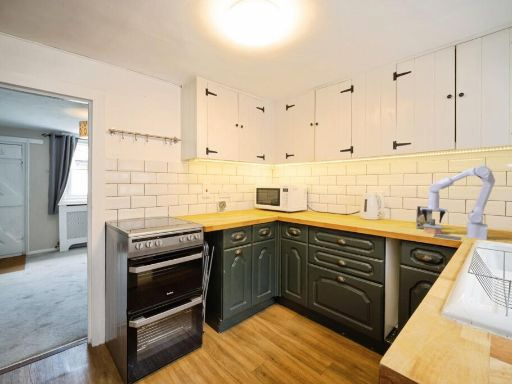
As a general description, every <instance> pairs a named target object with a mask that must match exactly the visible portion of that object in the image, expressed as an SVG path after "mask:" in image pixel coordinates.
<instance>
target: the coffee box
mask: <svg viewBox="0 0 512 384" xmlns="http://www.w3.org/2000/svg"><path fill="white" fill-rule="evenodd" d="M420 207H421V206H417V207H416V220H415V229H418V230H424V226H423V225H424V224H431V219H433V211H427V222H426V221H425V218H424V215H423V213H422V210H420ZM423 207H424V208H428V206H423Z"/></svg>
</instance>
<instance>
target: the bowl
mask: <svg viewBox="0 0 512 384" xmlns="http://www.w3.org/2000/svg"><path fill="white" fill-rule="evenodd" d="M423 232H424V233H425V234H431V235H432V234H433V235H435V234H438V235H442V228H434V227H424V229H423Z"/></svg>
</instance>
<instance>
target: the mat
mask: <svg viewBox="0 0 512 384" xmlns="http://www.w3.org/2000/svg"><path fill="white" fill-rule="evenodd" d="M432 238H437V239H444V240H445V239H446V240H454V241H461V240H462V237H461V236H453V235H445V234H433V236H432Z"/></svg>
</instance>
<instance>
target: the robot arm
mask: <svg viewBox="0 0 512 384" xmlns="http://www.w3.org/2000/svg"><path fill="white" fill-rule="evenodd" d="M470 176H471V177H474V176H476V177H478V178H479V179H481V181H482V182H483V183H482V184H481V188H480V191H479V193H478V196H477V199H476V201H475V203H474V206H473V207H472V210H471V211H470V213H468V215H467V218H468V221H467V225H466V227H467V228H466V235H465V238H470V239H480V240H488V236H489V234H488V224H486V223H484V222H483V221H484V212H485V209H486V206H487V203H488V200H489V198H490V195H491V193H492V190H493V187H494V186H495V183H496V179H495V177H494V174H493V170H492V169H491V168H490V167H488V166H487V165H483V164H482V165H478V166H476V167H472V168H469V169H466V170H464V171H463V172H461V173H458V174H456V175H454V176H452V177H448V176H446V177H442V179H440V180H438V181H437V180H436V181H435V182H433V183H432V184H430V185H429V187H428V190H429V192H428V193H429V194H428V206H427V207H428V208H424V207H425V206H420V210H422V213H423V215H424V218H425V221H426V222H427V211H432V212H439V224H441V223H442V220H443V217H444V216H445V214H446V213H448V209H447V208H440V190H445V189H446V188H449V187H452V186H454V183H455V182H457V181H459V180H462V179H464V178H466V177H470Z"/></svg>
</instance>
